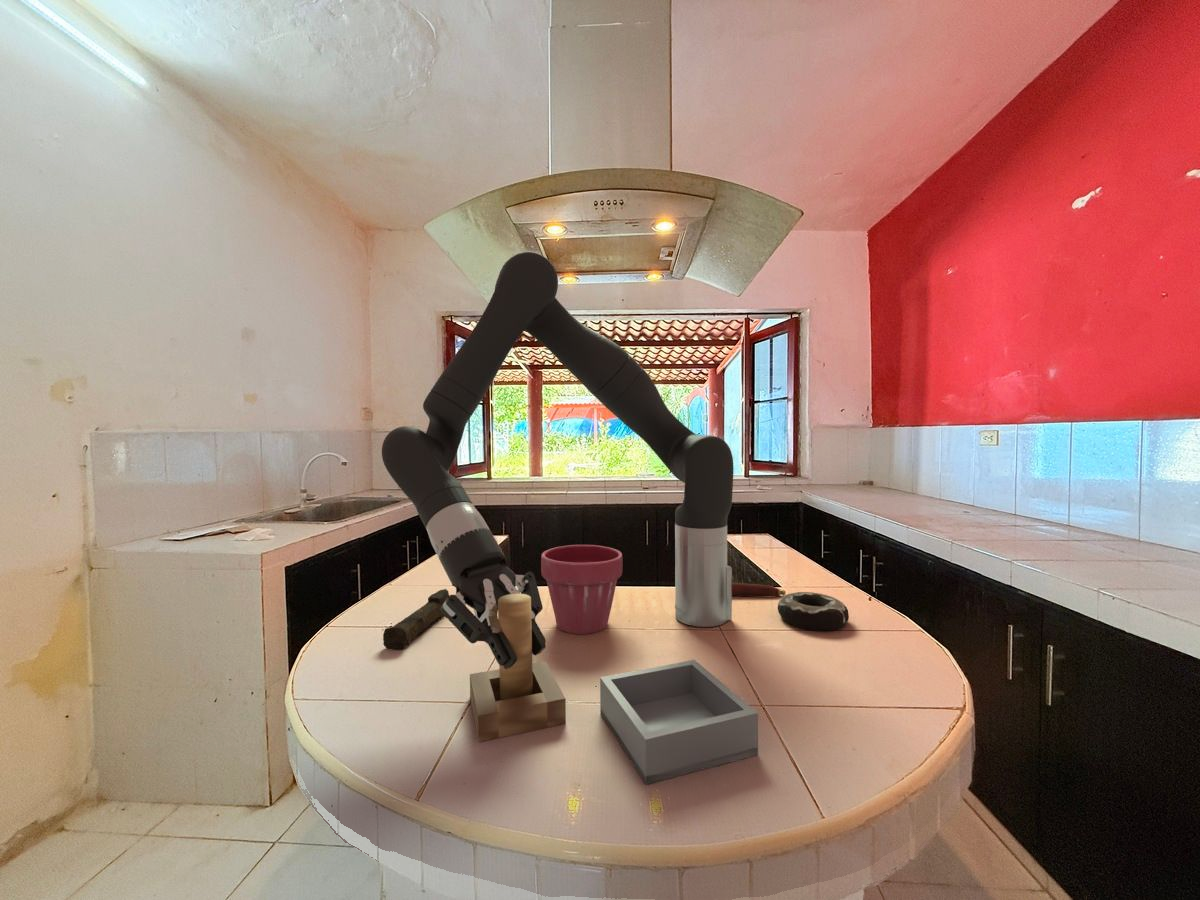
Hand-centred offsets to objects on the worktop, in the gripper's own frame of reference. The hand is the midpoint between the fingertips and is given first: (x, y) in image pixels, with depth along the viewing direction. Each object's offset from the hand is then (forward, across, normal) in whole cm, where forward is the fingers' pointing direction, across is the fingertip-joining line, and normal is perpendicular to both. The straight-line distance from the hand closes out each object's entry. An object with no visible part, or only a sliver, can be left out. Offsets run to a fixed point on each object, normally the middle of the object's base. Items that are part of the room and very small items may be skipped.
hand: (526, 657), depth 60 cm
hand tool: (-19, +6, +30) cm, 36 cm away
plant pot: (-5, +25, +15) cm, 30 cm away
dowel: (+2, 0, +5) cm, 6 cm away
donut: (+18, +52, -6) cm, 56 cm away
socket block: (+4, 0, +6) cm, 7 cm away
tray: (+16, +8, -6) cm, 19 cm away
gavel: (+6, +56, +6) cm, 57 cm away
